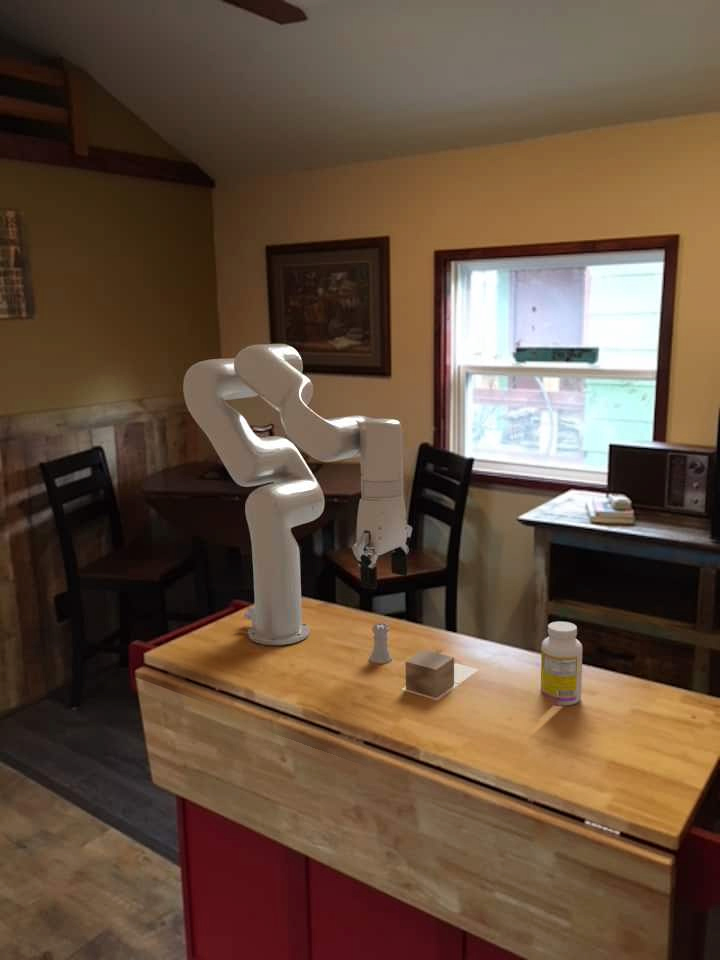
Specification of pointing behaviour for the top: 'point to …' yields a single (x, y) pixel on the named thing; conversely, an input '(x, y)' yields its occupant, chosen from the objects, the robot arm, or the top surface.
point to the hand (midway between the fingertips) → (384, 580)
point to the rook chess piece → (380, 644)
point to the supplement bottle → (561, 664)
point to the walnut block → (429, 673)
